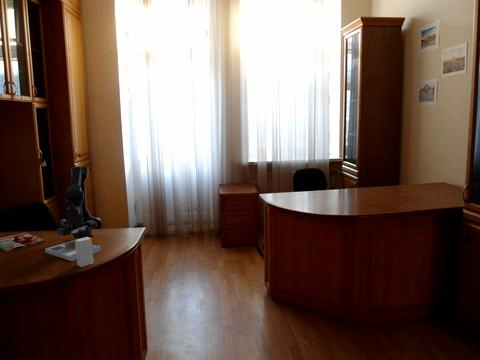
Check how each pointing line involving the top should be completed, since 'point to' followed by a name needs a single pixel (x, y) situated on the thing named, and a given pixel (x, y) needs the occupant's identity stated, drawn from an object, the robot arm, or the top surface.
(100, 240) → the top surface
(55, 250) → the board
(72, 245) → the brown flat block
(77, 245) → the skincare box
